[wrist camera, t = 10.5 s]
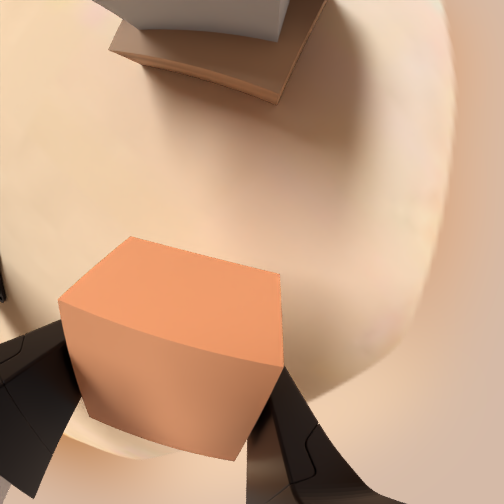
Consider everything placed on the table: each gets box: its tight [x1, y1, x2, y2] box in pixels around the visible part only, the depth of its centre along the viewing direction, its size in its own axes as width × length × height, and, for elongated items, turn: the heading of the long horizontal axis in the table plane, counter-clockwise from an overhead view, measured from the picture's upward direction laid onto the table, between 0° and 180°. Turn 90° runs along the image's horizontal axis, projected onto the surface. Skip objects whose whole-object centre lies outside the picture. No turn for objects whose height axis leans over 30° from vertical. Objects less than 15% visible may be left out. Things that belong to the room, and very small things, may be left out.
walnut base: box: [108, 0, 327, 105], centre depth 9 cm, size 8×8×4 cm
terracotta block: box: [58, 236, 284, 461], centre depth 8 cm, size 5×5×4 cm
